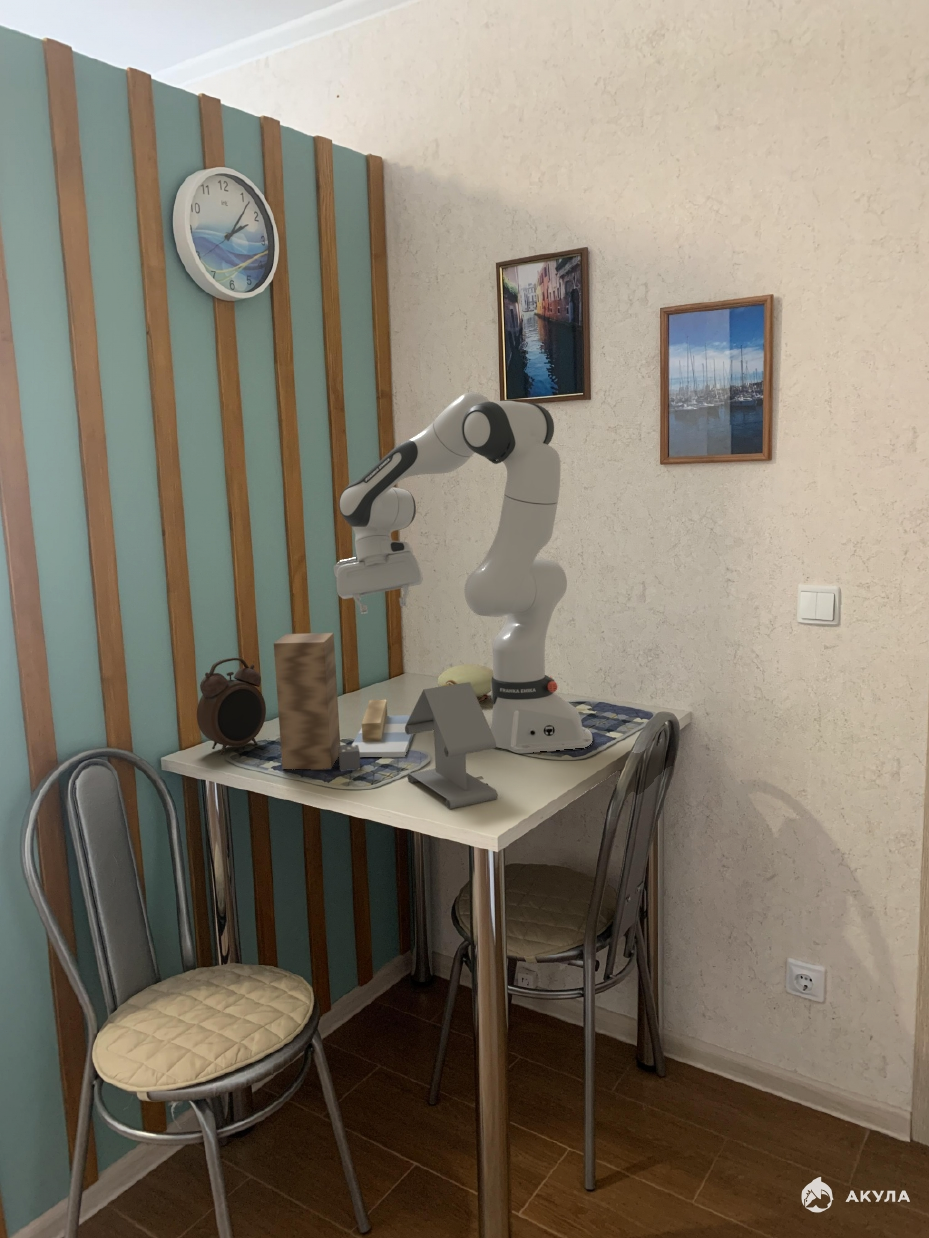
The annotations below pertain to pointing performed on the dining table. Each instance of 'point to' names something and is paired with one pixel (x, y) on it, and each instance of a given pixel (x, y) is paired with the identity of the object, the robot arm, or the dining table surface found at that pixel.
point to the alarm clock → (231, 706)
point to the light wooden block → (374, 720)
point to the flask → (469, 678)
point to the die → (349, 757)
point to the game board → (387, 740)
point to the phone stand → (452, 742)
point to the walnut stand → (307, 700)
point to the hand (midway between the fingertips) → (383, 609)
